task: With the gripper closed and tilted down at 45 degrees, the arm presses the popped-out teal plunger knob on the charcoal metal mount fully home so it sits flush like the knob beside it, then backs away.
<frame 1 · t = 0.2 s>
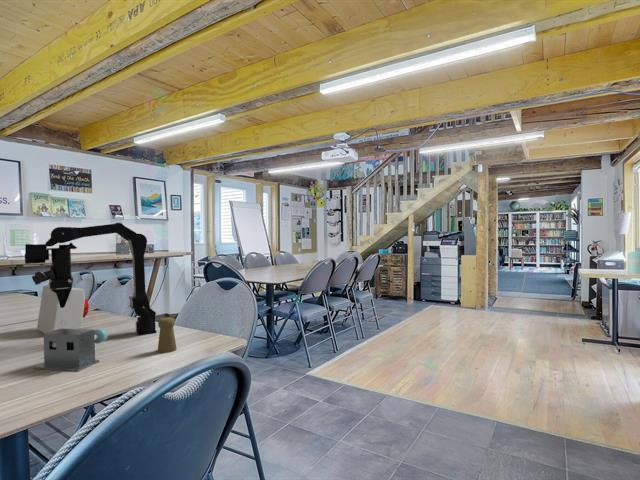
hand: (63, 305, 134), 14 cm above the table, tool pointing down, fingers open, 9 cm apart
seated knob: (65, 341, 116), point 6 cm above the table, slide at 0.0 cm
electrical switch box: (66, 330, 158), on the table
mount: (70, 364, 114), on the table
olive tapered figurine: (167, 350, 127), on the table
popped knob: (92, 338, 119), point 7 cm above the table, slide at 4.0 cm
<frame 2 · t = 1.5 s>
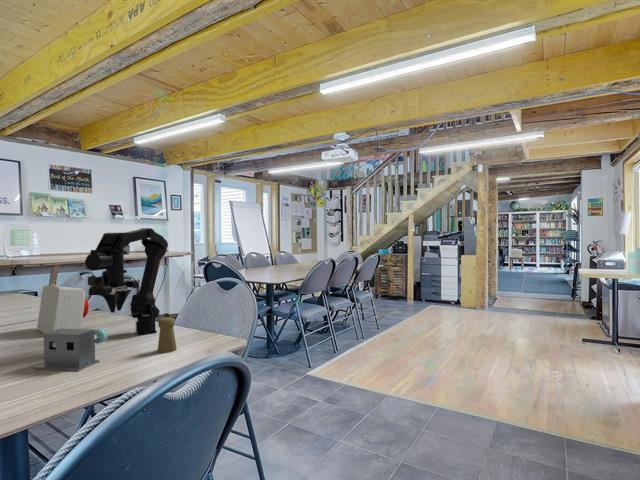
hand: (115, 311, 134), 12 cm above the table, tool pointing down, fingers open, 3 cm apart
nothing on the table moved.
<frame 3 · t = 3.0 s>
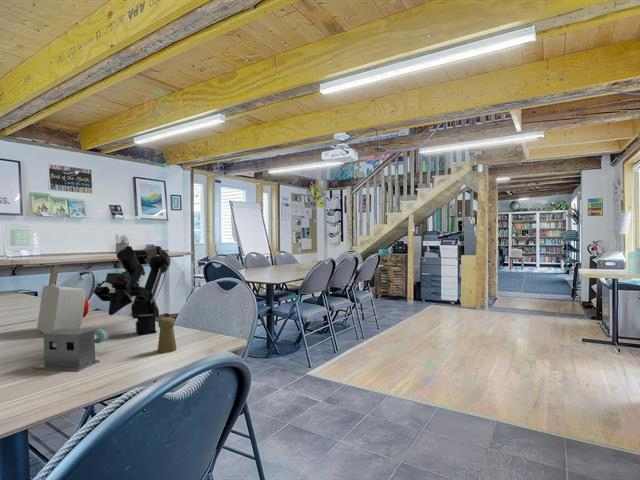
hand: (110, 314, 127), 12 cm above the table, tool tilted 45°, fingers closed
nothing on the table moved.
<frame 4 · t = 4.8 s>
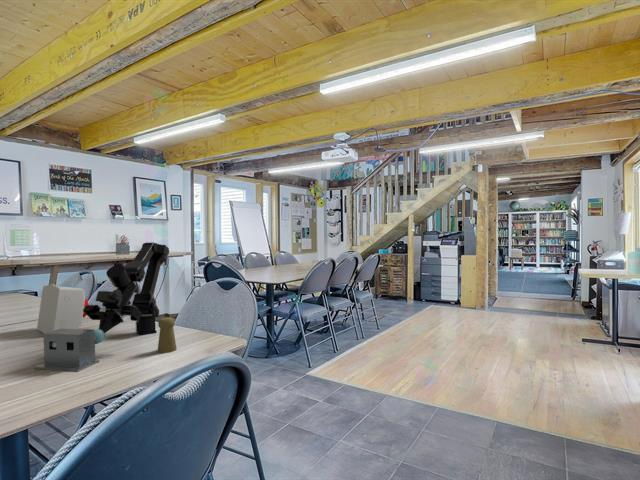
hand: (99, 334, 122), 7 cm above the table, tool tilted 45°, fingers closed, pressing on popped knob
popped knob: (89, 339, 118), point 7 cm above the table, slide at 2.9 cm, touching gripper
everything else where it was.
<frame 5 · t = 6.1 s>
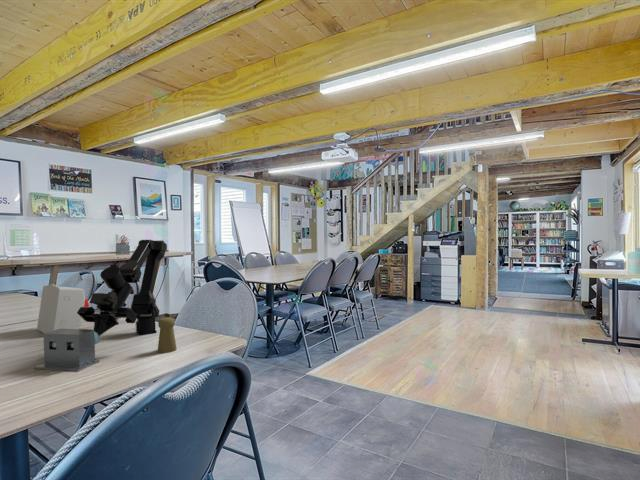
hand: (94, 337, 120), 7 cm above the table, tool tilted 45°, fingers closed
popped knob: (83, 341, 115), point 7 cm above the table, slide at 0.3 cm
everything else where it was.
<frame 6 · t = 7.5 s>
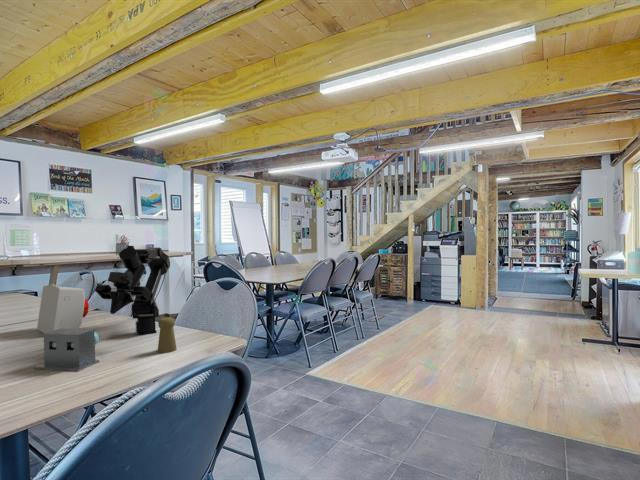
hand: (111, 313, 128), 13 cm above the table, tool tilted 45°, fingers closed
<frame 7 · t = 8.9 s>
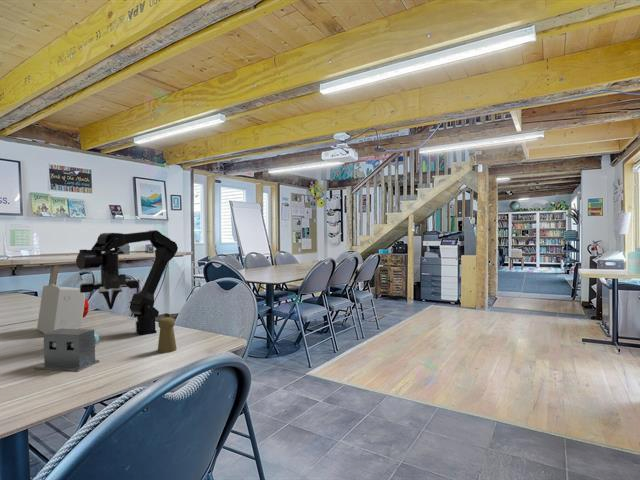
hand: (110, 309, 138), 12 cm above the table, tool pointing down, fingers closed
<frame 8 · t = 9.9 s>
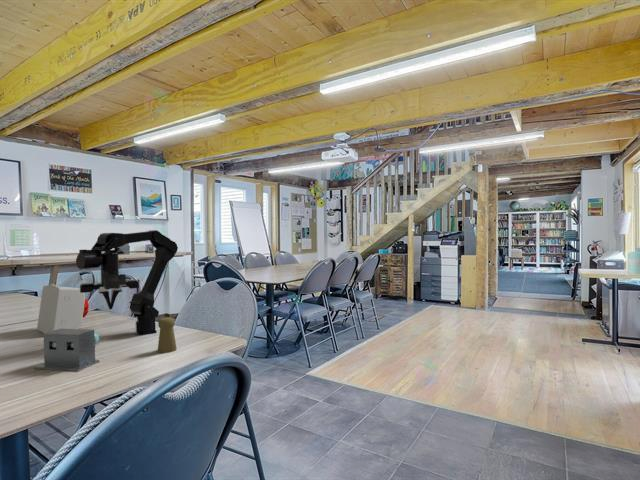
hand: (110, 309, 138), 12 cm above the table, tool pointing down, fingers closed
at the end: popped knob slide at 0.3 cm; seated knob slide at 0.0 cm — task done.
